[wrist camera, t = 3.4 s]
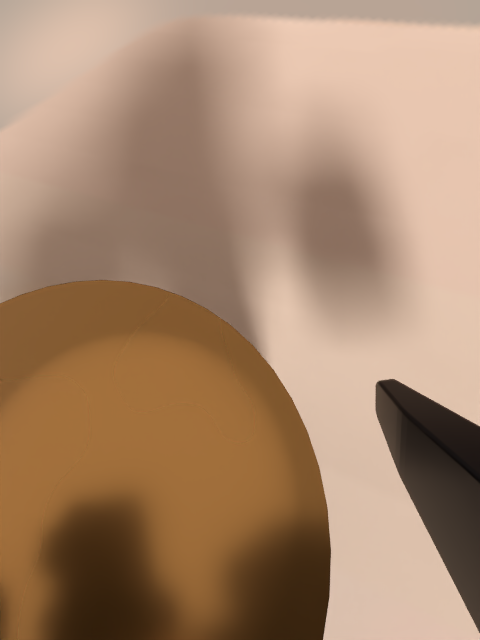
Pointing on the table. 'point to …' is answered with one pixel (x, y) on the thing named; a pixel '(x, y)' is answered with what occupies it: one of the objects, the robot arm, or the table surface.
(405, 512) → the table surface
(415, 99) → the table surface
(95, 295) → the copper capped metal cylinder
